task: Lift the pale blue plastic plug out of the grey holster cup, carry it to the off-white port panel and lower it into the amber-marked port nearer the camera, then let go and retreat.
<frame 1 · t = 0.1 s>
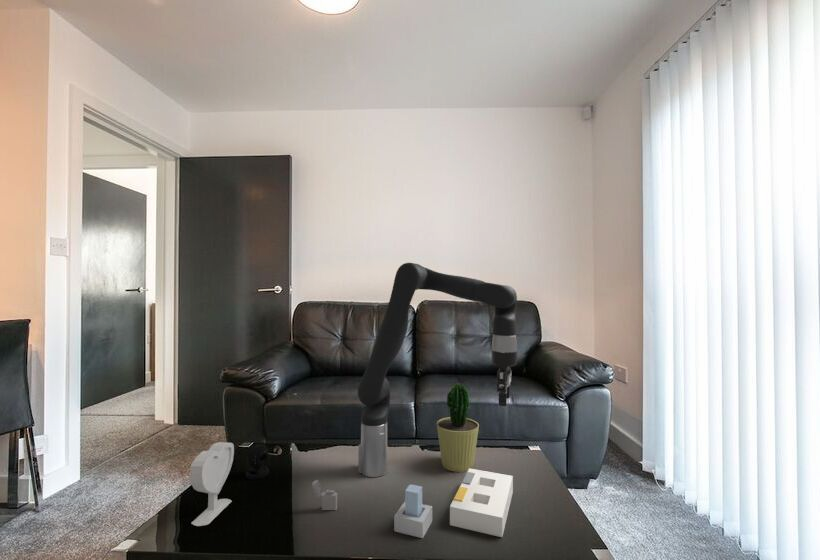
hand: (504, 401, 120), 29 cm above the table, tool pointing down, fingers open, 8 cm apart
potted cactus: (457, 465, 141), on the table
lighter: (324, 509, 112), on the table
port panel: (483, 507, 113), on the table
webcam: (257, 475, 132), on the table
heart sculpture: (212, 512, 110), on the table
plug: (413, 526, 104), resting in holster
holster: (413, 525, 104), on the table
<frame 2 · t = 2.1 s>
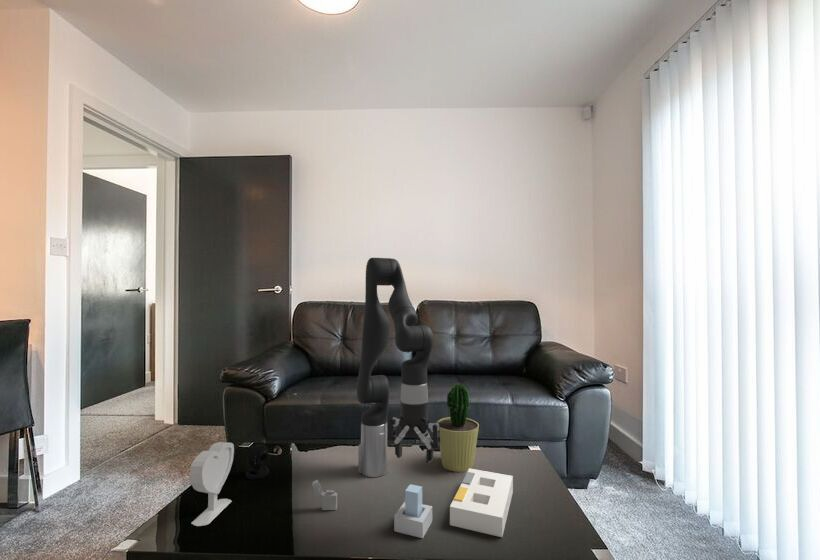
hand: (414, 459, 104), 18 cm above the table, tool pointing down, fingers open, 8 cm apart
nothing on the table moved.
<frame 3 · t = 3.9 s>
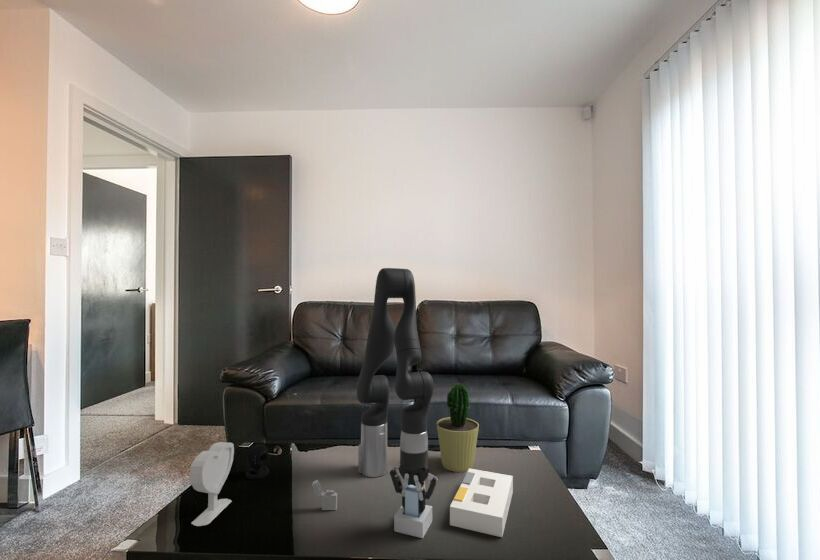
hand: (413, 510, 104), 4 cm above the table, tool pointing down, fingers closed on plug, 3 cm apart
plug: (413, 525, 104), resting in holster, touching gripper
everything else where it was.
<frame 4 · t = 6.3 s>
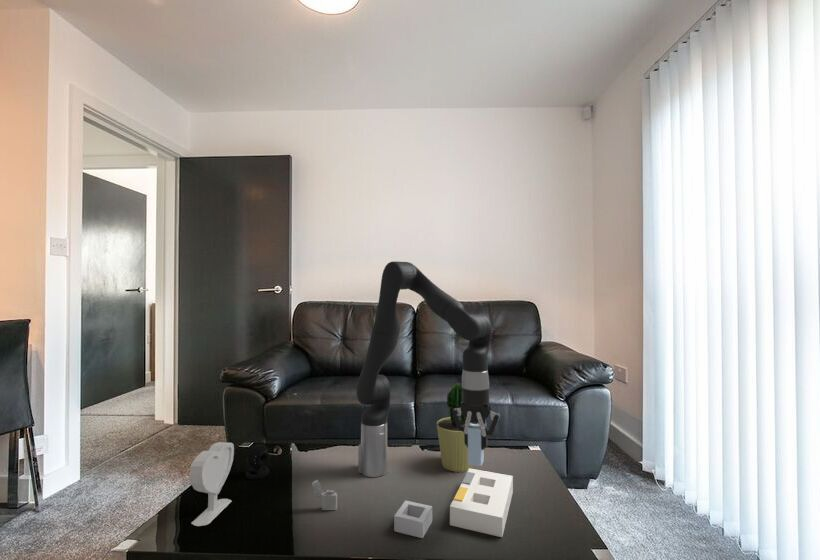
hand: (476, 447, 108), 20 cm above the table, tool pointing down, fingers closed on plug, 3 cm apart
plug: (476, 462, 108), point 16 cm above the table, touching gripper
everything else where it was.
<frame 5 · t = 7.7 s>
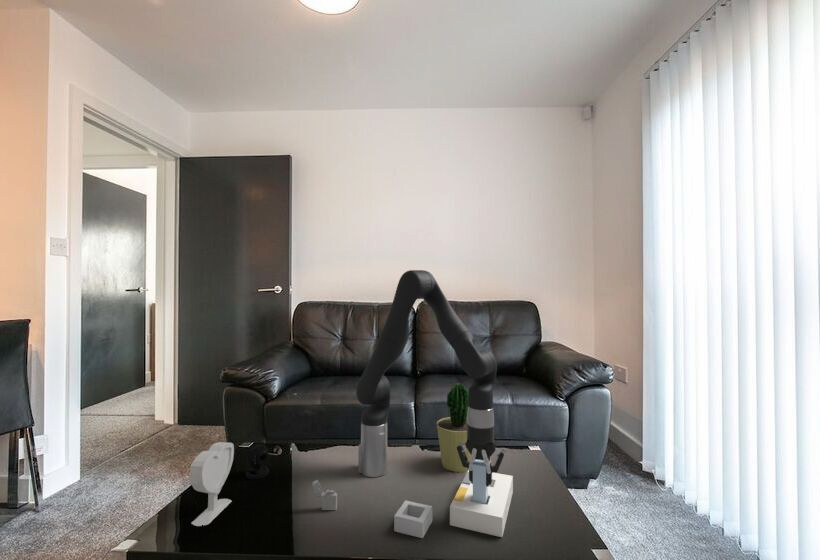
hand: (480, 483, 109), 9 cm above the table, tool pointing down, fingers closed on plug, 3 cm apart
plug: (480, 498, 109), point 5 cm above the table, touching gripper
everything else where it was.
when the fingers open (6 cm above the table, at t = 8.7 s): plug drops 1 cm, resting in port panel.
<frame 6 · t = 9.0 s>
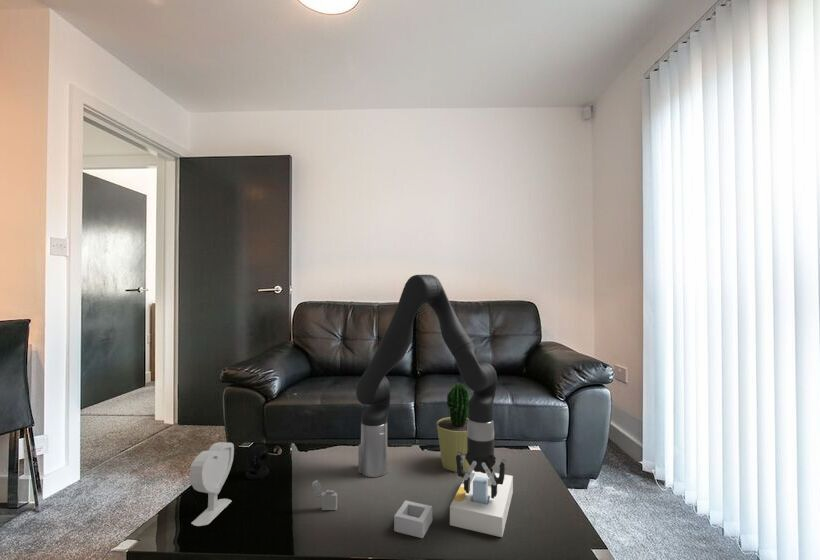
hand: (480, 494, 109), 6 cm above the table, tool pointing down, fingers open, 6 cm apart
plug: (480, 516, 109), resting in port panel
everything else where it was.
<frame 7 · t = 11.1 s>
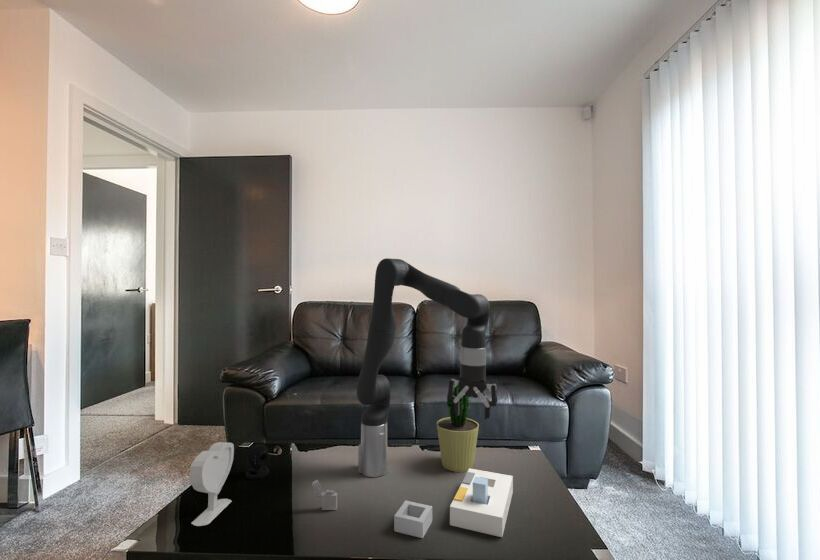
hand: (471, 417, 113), 26 cm above the table, tool pointing down, fingers open, 8 cm apart
nothing on the table moved.
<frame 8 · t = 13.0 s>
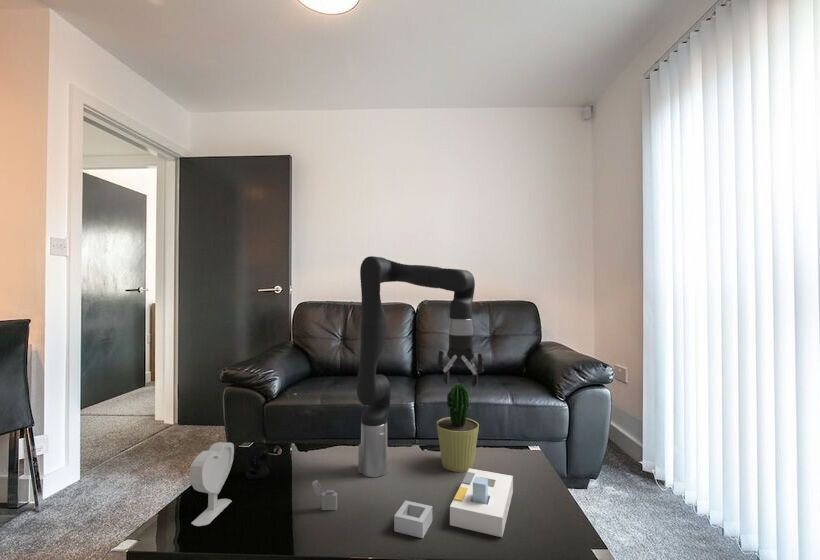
hand: (460, 384, 121), 34 cm above the table, tool pointing down, fingers open, 8 cm apart
nothing on the table moved.
at the end: plug 0.1 cm from the target spot on the port panel, point 0.0 cm above the port panel's base; the gripper is holding nothing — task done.
